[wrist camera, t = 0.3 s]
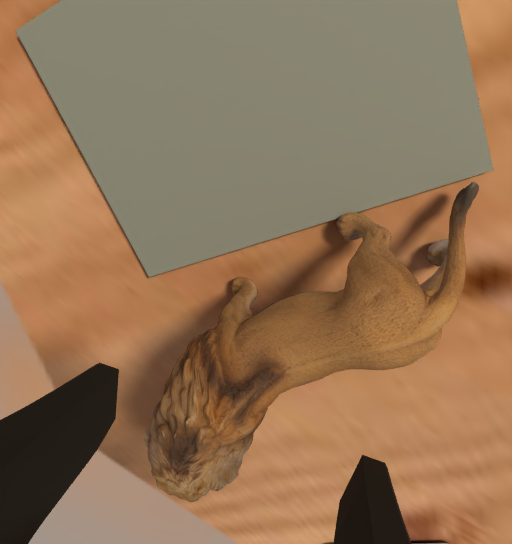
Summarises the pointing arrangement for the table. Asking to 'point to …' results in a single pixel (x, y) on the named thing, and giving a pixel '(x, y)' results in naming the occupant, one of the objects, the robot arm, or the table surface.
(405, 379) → the table surface
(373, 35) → the mat
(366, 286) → the lion figurine
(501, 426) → the table surface
